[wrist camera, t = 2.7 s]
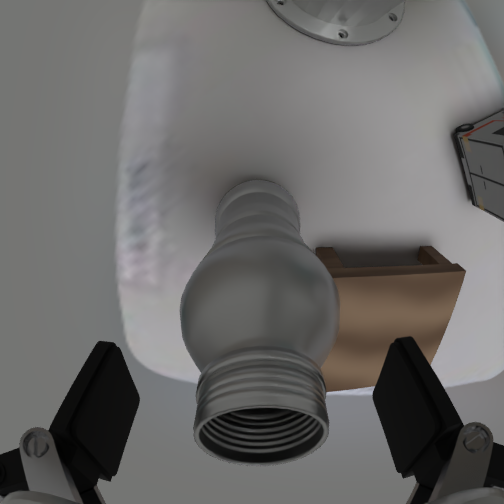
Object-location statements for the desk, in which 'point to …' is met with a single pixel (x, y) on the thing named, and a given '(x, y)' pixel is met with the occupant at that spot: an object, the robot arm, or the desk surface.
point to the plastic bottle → (260, 332)
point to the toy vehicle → (484, 162)
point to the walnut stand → (387, 313)
